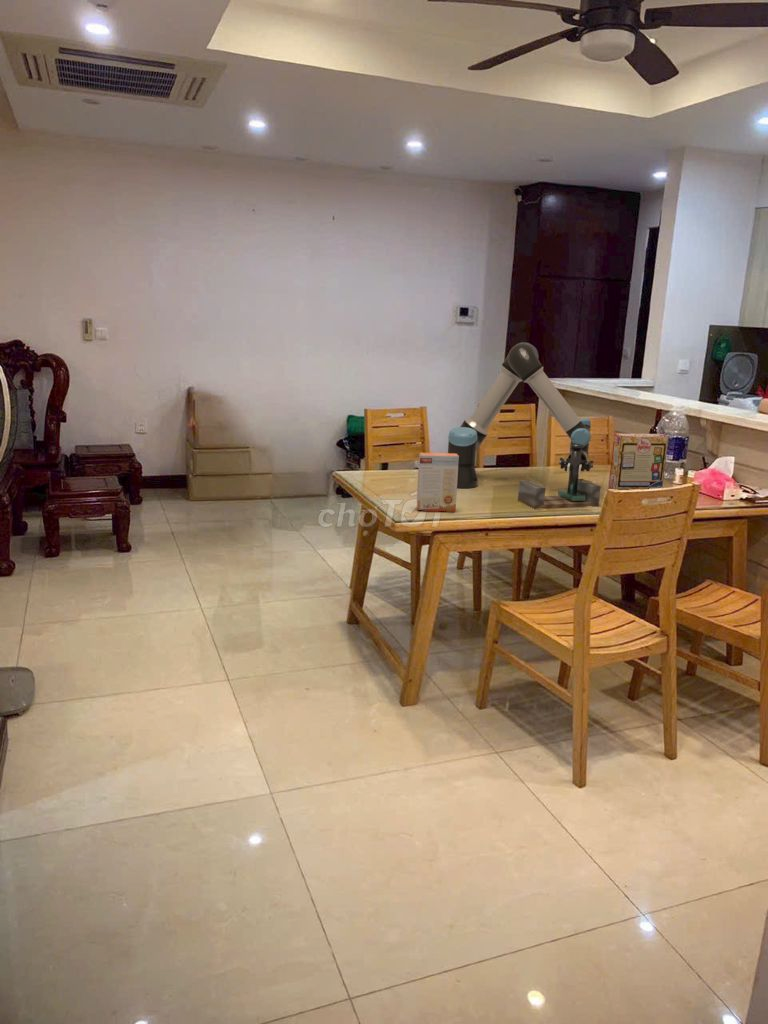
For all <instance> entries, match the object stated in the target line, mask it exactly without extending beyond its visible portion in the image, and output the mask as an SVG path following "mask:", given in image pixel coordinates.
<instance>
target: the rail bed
mask: <svg viewBox="0 0 768 1024" xmlns="http://www.w3.org/2000/svg"><path fill="white" fill-rule="evenodd" d="M577 492H579V493H581V494H583V495H586V497H585V501H570V500H568V499H566V498H564V497H562V496H559V495H558V494H557V495H555V494H554V495H546V487H545V486H542V485H540V484H537V483H535V482H533V481H531V480H519V483H518V495H517V501H518V502H520V503H521V502H522V503H521V504H523V503H524V505H525V504H526V506H527V505H528V506H527V507H529V506H530V507H529V508H531V507H532V509H533V508H534V509H533V510H536V509H535V508H546V509H562V508H563V509H565V508H568V507H569V508H584V507H585V508H587V506H592V507H599V502H600V495H601V485H600V484H596V483H594V482H593V481H592V480H587V479H584V478H578V486H577Z"/></svg>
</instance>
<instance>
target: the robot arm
mask: <svg viewBox="0 0 768 1024" xmlns="http://www.w3.org/2000/svg"><path fill="white" fill-rule="evenodd" d="M500 366H501V372H500V373H499V375H497V378H496V379H495V381H494V382H493V383H492V385H491V387H490V388H489V389H488V391H487V392H486V394H485V396H484V397H483V398H482V400H481V401H480V403H479V405H478V406H477V408H476V409H475V411H474V412H473V414H472V415H471V417H468V418H465V419H464V420H463V422H462V423H461V425H460V426H458V427H457V426H456V427H453V428H451V429H450V430H449V433H448V436H447V437H448V443H447V444H448V445H447V446H448V447H447V453H455V454H457V455H458V456H459V462H458V479H457V489H473V488H476V487H477V486H478V484H479V480H478V475H477V471H476V453H477V451H478V450H479V449H480V447H481V444H482V443H483V442H484V440H485V439H486V437H487V435H488V434H489V432H488V428H489V426H490V425H491V424H492V423H493V421H494V419H495V418H496V417H497V415H498V414H499V412H500V411H501V409H502V408H503V406H504V405H505V403H506V401H507V400H508V399H509V398H510V396H511V395H512V393H513V391H514V390H515V389H516V387H517V386H518V384H519V383H520V382H523V383H526V384H528V385H529V387H530V388H531V389H532V391H533V392H534V393H535V395H536V396H537V397H538V398H539V400H540V401H541V402H542V404H543V405H544V406H545V408H546V409H547V410H548V412H549V413H550V414H551V415H552V417H553V418H554V419H555V421H556V422H557V423H558V424H559V426H560V427H561V428H562V430H564V432H565V434H566V435H567V436H568V438H569V439H570V443H569V444H570V445H569V454H568V456H567V458H563V457H560V458H559V465H560V469H561V470H563V469H564V472H566V474H569V472H570V462H571V453H572V447H571V444H583V445H584V447H583V448H582V450H581V459H580V466H579V472H578V474H579V475H581V473H582V472H584V471H586V472H590V470H591V469H592V468H594V460H588V459H589V449H590V448H589V447H590V441H591V439H592V435H591V434H592V433H591V429H592V427H591V424H592V423H591V422H592V420H591V419H590V418H586V417H579V416H578V415H577V414H576V412H575V411H574V410H573V408H572V407H571V406H570V404H569V403H568V402H567V401H566V399H565V397H564V396H563V395H562V394H561V393H560V391H559V390H558V388H557V387H556V386H555V384H554V383H553V382H552V381H551V379H550V378H549V377H548V375H547V374H546V373H545V372H544V366H543V364H542V363H541V362H540V360H539V352H538V350H537V348H536V347H535V346H534V345H533V344H531V343H529V342H519V343H517V344H515V345H514V346H512V347H511V349H510V350H509V352H508V355H507V356H506V357H505V360H504V361H503V362H502V364H501V365H500Z"/></svg>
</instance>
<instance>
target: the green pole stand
mask: <svg viewBox="0 0 768 1024" xmlns="http://www.w3.org/2000/svg"><path fill="white" fill-rule="evenodd" d="M571 447H572V453H571V462H570V471H569V473H568V482H567V483H568V484H567V489H558V492H557V493H558V494H557V495H559V496H562V497H564V498H566V499H568V500H570V501H585V497H586V495H583V494H581V493H579V492H577V486H578V479H579V475H580V474H578V472H579V466H580V459H581V450H582V448H583V447H584V445H583V444H571Z"/></svg>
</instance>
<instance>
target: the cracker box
mask: <svg viewBox="0 0 768 1024" xmlns="http://www.w3.org/2000/svg"><path fill="white" fill-rule="evenodd" d="M458 462H459V456H458V455H457V454H455V453H448V452H446V453H445V452H418V466H417V467H418V471H417V492H416V510H417V509H418V510H427V511H426V512H438V511H444V512H443V513H445V511H446V513H456V509H457V492H458V488H457V479H458ZM418 510H417V511H418Z"/></svg>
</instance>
